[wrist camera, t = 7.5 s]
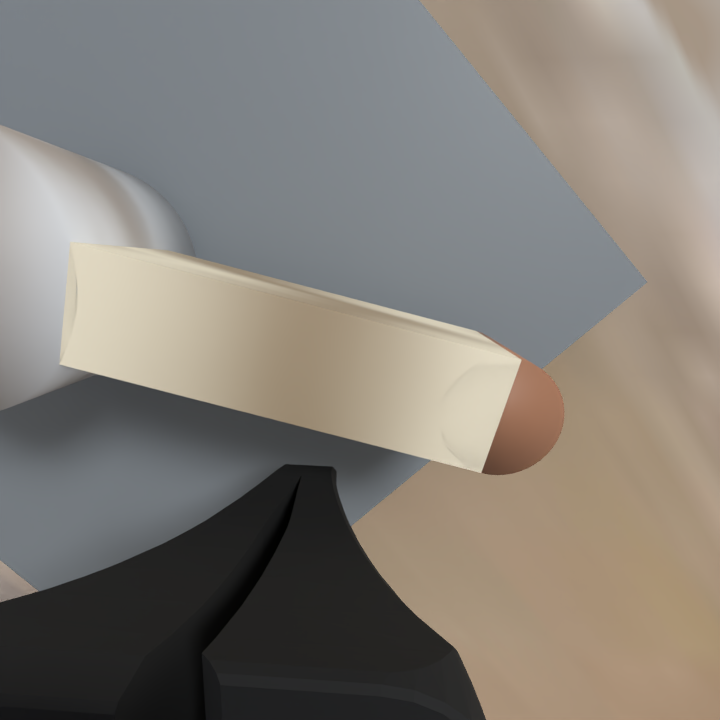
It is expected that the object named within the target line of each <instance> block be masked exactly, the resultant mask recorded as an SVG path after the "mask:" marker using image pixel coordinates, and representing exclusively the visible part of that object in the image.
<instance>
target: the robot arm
mask: <svg viewBox="0 0 720 720" xmlns="http://www.w3.org/2000/svg"><path fill="white" fill-rule="evenodd" d="M336 481H337V471H336V470H335V469H334V467H333V466H314V465H294V464H285V465H283V466H282V467H280V468H279V469H277V470H276V471H275V472H274V473H272V474H271V475H270V476H268V477H267V478H266V479H265V480H263V481H262V482H261V483H259V484H258V485H257V486H255V487H254V488H253V489H251V490H250V491H249V492H247V493H246V494H245V495H243V496H242V497H240V498H239V499H237V500H236V501H234V502H233V503H231V504H230V505H228V506H227V507H225V508H224V509H222V510H221V511H219V512H218V513H216V514H215V515H213V516H212V517H210V518H209V519H207V520H205V521H204V522H202V523H200V524H199V525H197V526H195V527H193V528H192V529H190V530H188V531H186V532H184V533H182V534H180V535H179V536H177V537H175V538H173V539H171V540H169V541H167V542H165V543H163V544H161V545H159V546H156V547H154V548H152V549H150V550H147V551H145V552H143V553H141V554H138V555H136V556H134V557H132V558H129V559H127V560H125V561H122V562H120V563H118V564H115V565H113V566H110V567H108V568H105V569H103V570H100V571H97V572H95V573H92V574H89V575H87V576H84V577H81V578H78V579H75V580H72V581H69V582H66V583H64V584H61V585H58V586H55V587H52V588H48V589H45V590H42V591H39V592H36V593H32V594H29V595H25V596H22V597H18V598H15V599H11V600H8V601H4V602H0V720H486V719H485V716H484V713H483V710H482V708H481V705H480V702H479V700H478V697H477V695H476V692H475V690H474V687H473V685H472V682H471V680H470V678H469V676H468V673H467V671H466V669H465V667H464V664H463V662H462V660H461V658H460V656H459V654H458V652H457V650H456V649H455V648H454V647H453V646H452V645H451V644H449V643H448V642H447V641H446V640H445V639H443V638H442V637H441V636H440V635H439V634H437V633H436V632H435V631H434V630H433V629H432V628H430V627H429V626H428V625H427V624H426V623H424V622H423V621H422V620H421V619H420V618H418V617H417V616H416V615H415V614H414V613H413V612H412V611H411V610H410V609H409V608H408V607H407V606H406V605H405V604H404V603H403V602H402V601H401V599H400V598H399V597H398V596H397V594H396V593H395V592H394V591H393V590H392V588H391V587H390V586H389V585H388V584H387V582H386V581H385V580H384V579H383V578H382V576H381V575H380V574H379V573H378V571H377V570H376V568H375V567H374V565H373V564H372V563H371V561H370V560H369V558H368V557H367V555H366V553H365V552H364V550H363V548H362V547H361V545H360V543H359V542H358V540H357V538H356V536H355V534H354V532H353V530H352V528H351V526H350V524H349V521H348V519H347V517H346V514H345V512H344V509H343V506H342V503H341V500H340V497H339V494H338V490H337V485H336Z"/></svg>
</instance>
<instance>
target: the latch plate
mask: <svg viewBox="0 0 720 720" xmlns="http://www.w3.org/2000/svg"><path fill="white" fill-rule="evenodd" d="M0 125H2V126H5V127H8V128H10V129H13V130H15V131H18V132H21V133H23V134H26V135H29V136H31V137H34V138H36V139H39V140H42V141H44V142H47V143H50V144H52V145H55V146H58V147H60V148H63V149H65V150H68V151H71V152H73V153H76V154H79V155H81V156H84V157H86V158H89V159H92V160H94V161H97V162H100V163H102V164H105V165H108V166H110V167H113V168H115V169H118V170H121V171H123V172H126V173H128V174H130V175H132V176H135V177H137V178H139V179H141V180H142V181H144V182H145V183H147V184H148V185H150V186H151V187H152V188H154V189H155V190H156V191H157V192H158V193H160V194H161V195H162V196H163V197H164V198H165V199H166V200H167V201H168V203H169V204H170V205H171V206H172V207H173V209H174V210H175V211H176V213H177V214H178V215H179V217H180V218H181V220H182V222H183V224H184V225H185V227H186V229H187V231H188V234H189V236H190V239H191V241H192V244H193V248H194V251H195V255H196V258H200V259H203V260H207V261H211V262H215V263H219V264H222V265H226V266H230V267H234V268H238V269H242V270H245V271H249V272H253V273H257V274H261V275H264V276H268V277H272V278H276V279H280V280H284V281H287V282H291V283H295V284H299V285H303V286H306V287H310V288H314V289H318V290H322V291H326V292H329V293H333V294H337V295H341V296H345V297H348V298H352V299H356V300H360V301H364V302H368V303H371V304H375V305H379V306H383V307H387V308H390V309H394V310H398V311H402V312H406V313H410V314H413V315H417V316H421V317H425V318H429V319H432V320H436V321H440V322H444V323H448V324H452V325H455V326H459V327H463V328H467V329H471V330H474V331H478V332H481V333H483V334H485V335H487V336H489V337H490V338H492V339H494V340H495V341H497V342H499V343H500V344H502V345H503V346H505V347H507V348H508V349H510V350H512V351H513V352H515V353H516V354H518V355H520V356H521V357H523V358H525V359H526V360H528V361H529V362H531V363H533V364H534V365H536V366H537V367H539V368H540V369H542V368H544V367H545V366H546V365H547V364H548V363H550V362H551V361H552V360H553V359H554V358H556V357H557V356H558V355H559V354H561V353H562V352H563V351H564V350H565V349H567V348H568V347H569V346H570V345H571V344H573V343H574V342H575V341H576V340H578V339H579V338H580V337H581V336H582V335H584V334H585V333H586V332H587V331H589V330H590V329H591V328H592V327H593V326H595V325H596V324H597V323H598V322H599V321H601V320H602V319H603V318H604V317H606V316H607V315H608V314H609V313H610V312H612V311H613V310H614V309H615V308H616V307H618V306H619V305H620V304H621V303H623V302H624V301H625V300H626V299H627V298H629V297H630V296H631V295H632V294H633V293H635V292H636V291H637V290H638V289H640V288H641V287H642V286H643V285H644V284H646V283H647V281H646V280H645V279H644V277H643V276H642V275H641V274H640V272H639V271H638V270H637V269H636V268H635V266H634V265H633V264H632V263H631V261H630V260H629V259H628V258H627V256H626V255H625V254H624V253H623V251H622V250H621V249H620V248H619V247H618V245H617V244H616V243H615V242H614V240H613V239H612V238H611V237H610V235H609V234H608V233H607V232H606V230H605V229H604V228H603V227H602V226H601V224H600V223H599V222H598V221H597V219H596V218H595V217H594V216H593V214H592V213H591V212H590V211H589V209H588V208H587V207H586V206H585V205H584V203H583V202H582V201H581V200H580V198H579V197H578V196H577V195H576V193H575V192H574V191H573V190H572V188H571V187H570V186H569V185H568V184H567V182H566V181H565V180H564V179H563V177H562V176H561V175H560V174H559V172H558V171H557V170H556V169H555V167H554V166H553V165H552V164H551V163H550V161H549V160H548V159H547V158H546V156H545V155H544V154H543V153H542V151H541V150H540V149H539V148H538V147H537V145H536V144H535V143H534V142H533V140H532V139H531V138H530V137H529V135H528V134H527V133H526V132H525V130H524V129H523V128H522V127H521V126H520V124H519V123H518V122H517V121H516V119H515V118H514V117H513V116H512V114H511V113H510V112H509V111H508V109H507V108H506V107H505V106H504V105H503V103H502V102H501V101H500V100H499V98H498V97H497V96H496V95H495V93H494V92H493V91H492V90H491V88H490V87H489V86H488V85H487V84H486V82H485V81H484V80H483V79H482V77H481V76H480V75H479V74H478V72H477V71H476V70H475V69H474V67H473V66H472V65H471V64H470V63H469V61H468V60H467V59H466V58H465V56H464V55H463V54H462V53H461V51H460V50H459V49H458V48H457V46H456V45H455V44H454V43H453V42H452V40H451V39H450V38H449V37H448V35H447V34H446V33H445V32H444V30H443V29H442V28H441V27H440V26H439V24H438V23H437V22H436V21H435V19H434V18H433V17H432V16H431V14H430V13H429V12H428V11H427V9H426V8H425V7H424V6H423V5H422V3H421V2H420V1H419V0H0ZM429 461H431V460H429V459H425V458H421V457H417V456H414V455H410V454H406V453H402V452H398V451H394V450H390V449H386V448H382V447H379V446H375V445H371V444H367V443H363V442H359V441H355V440H351V439H347V438H344V437H340V436H336V435H332V434H328V433H324V432H320V431H316V430H312V429H309V428H305V427H301V426H297V425H293V424H289V423H285V422H281V421H277V420H274V419H270V418H266V417H262V416H258V415H254V414H250V413H246V412H242V411H239V410H235V409H231V408H227V407H223V406H219V405H215V404H211V403H207V402H204V401H200V400H196V399H192V398H188V397H184V396H180V395H176V394H172V393H169V392H165V391H161V390H157V389H153V388H149V387H145V386H141V385H137V384H134V383H130V382H126V381H122V380H118V379H114V378H110V377H106V376H102V375H98V374H97V375H94V376H91V377H89V378H86V379H83V380H81V381H78V382H75V383H73V384H70V385H68V386H65V387H62V388H60V389H57V390H54V391H52V392H49V393H46V394H44V395H41V396H38V397H36V398H33V399H30V400H28V401H25V402H22V403H20V404H17V405H15V406H12V407H9V408H6V409H4V410H1V411H0V560H1V561H2V562H3V563H5V564H6V565H7V566H8V567H10V568H11V569H12V570H13V571H15V572H16V573H17V574H18V575H19V576H21V577H22V578H23V579H24V580H26V581H27V582H28V583H29V584H31V585H32V586H33V587H34V588H36V589H37V590H38V591H42V590H45V589H48V588H52V587H55V586H58V585H61V584H64V583H66V582H69V581H72V580H75V579H78V578H81V577H84V576H87V575H89V574H92V573H95V572H97V571H100V570H103V569H105V568H108V567H110V566H113V565H115V564H118V563H120V562H122V561H125V560H127V559H129V558H132V557H134V556H136V555H138V554H141V553H143V552H145V551H147V550H150V549H152V548H154V547H156V546H159V545H161V544H163V543H165V542H167V541H169V540H171V539H173V538H175V537H177V536H179V535H180V534H182V533H184V532H186V531H188V530H190V529H192V528H193V527H195V526H197V525H199V524H200V523H202V522H204V521H205V520H207V519H209V518H210V517H212V516H213V515H215V514H216V513H218V512H219V511H221V510H222V509H224V508H225V507H227V506H228V505H230V504H231V503H233V502H234V501H236V500H237V499H239V498H240V497H242V496H243V495H245V494H246V493H247V492H249V491H250V490H251V489H253V488H254V487H255V486H257V485H258V484H259V483H261V482H262V481H263V480H265V479H266V478H267V477H268V476H270V475H271V474H272V473H274V472H275V471H276V470H277V469H279V468H280V467H282V466H283V465H285V464H294V465H314V466H333V467H334V469H335V470H336V471H337V481H336V485H337V490H338V494H339V497H340V500H341V503H342V506H343V509H344V512H345V514H346V517H347V519H348V521H349V524H350V526H352V525H353V524H354V523H355V522H356V521H358V520H359V519H360V518H361V517H362V516H364V515H365V514H366V513H367V512H369V511H370V510H371V509H372V508H373V507H375V506H376V505H377V504H378V503H379V502H381V501H382V500H383V499H384V498H386V497H387V496H388V495H389V494H390V493H392V492H393V491H394V490H395V489H396V488H398V487H399V486H400V485H401V484H403V483H404V482H405V481H406V480H407V479H409V478H410V477H411V476H412V475H414V474H415V473H416V472H417V471H418V470H420V469H421V468H422V467H423V466H424V465H426V464H427V463H428V462H429Z"/></svg>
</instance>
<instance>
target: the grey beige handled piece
mask: <svg viewBox="0 0 720 720" xmlns="http://www.w3.org/2000/svg"><path fill="white" fill-rule="evenodd" d="M97 374H98V375H102V376H106V377H110V378H114V379H118V380H122V381H126V382H130V383H134V384H137V385H141V386H145V387H149V388H153V389H157V390H161V391H165V392H169V393H172V394H176V395H180V396H184V397H188V398H192V399H196V400H200V401H204V402H207V403H211V404H215V405H219V406H223V407H227V408H231V409H235V410H239V411H242V412H246V413H250V414H254V415H258V416H262V417H266V418H270V419H274V420H277V421H281V422H285V423H289V424H293V425H297V426H301V427H305V428H309V429H312V430H316V431H320V432H324V433H328V434H332V435H336V436H340V437H344V438H347V439H351V440H355V441H359V442H363V443H367V444H371V445H375V446H379V447H382V448H386V449H390V450H394V451H398V452H402V453H406V454H410V455H414V456H417V457H421V458H425V459H429V460H433V461H437V462H441V463H445V464H449V465H452V466H456V467H460V468H464V469H468V470H472V471H476V472H480V473H484V474H491V475H505V474H511V473H515V472H519V471H522V470H524V469H527V468H529V467H530V466H532V465H534V464H536V463H537V462H538V461H540V460H541V459H542V458H543V457H544V456H546V455H547V454H548V452H549V451H550V450H551V449H552V448H553V446H554V445H555V443H556V442H557V440H558V438H559V435H560V433H561V430H562V427H563V422H564V404H563V400H562V396H561V393H560V391H559V389H558V387H557V385H556V384H555V382H554V381H553V380H552V378H551V377H550V376H549V375H548V374H547V373H546V372H545V371H543V370H542V369H540V368H539V367H537V366H536V365H534V364H533V363H531V362H529V361H528V360H526V359H525V358H523V357H521V356H520V355H518V354H516V353H515V352H513V351H512V350H510V349H508V348H507V347H505V346H503V345H502V344H500V343H499V342H497V341H495V340H494V339H492V338H490V337H489V336H487V335H485V334H483V333H481V332H478V331H474V330H471V329H467V328H463V327H459V326H455V325H452V324H448V323H444V322H440V321H436V320H432V319H429V318H425V317H421V316H417V315H413V314H410V313H406V312H402V311H398V310H394V309H390V308H387V307H383V306H379V305H375V304H371V303H368V302H364V301H360V300H356V299H352V298H348V297H345V296H341V295H337V294H333V293H329V292H326V291H322V290H318V289H314V288H310V287H306V286H303V285H299V284H295V283H291V282H287V281H284V280H280V279H276V278H272V277H268V276H264V275H261V274H257V273H253V272H249V271H245V270H242V269H238V268H234V267H230V266H226V265H222V264H219V263H215V262H211V261H207V260H203V259H200V258H196V255H195V251H194V248H193V244H192V241H191V239H190V236H189V234H188V231H187V229H186V227H185V225H184V224H183V222H182V220H181V218H180V217H179V215H178V214H177V213H176V211H175V210H174V209H173V207H172V206H171V205H170V204H169V203H168V201H167V200H166V199H165V198H164V197H163V196H162V195H161V194H160V193H158V192H157V191H156V190H155V189H154V188H152V187H151V186H150V185H148V184H147V183H145V182H144V181H142V180H141V179H139V178H137V177H135V176H132V175H130V174H128V173H126V172H123V171H121V170H118V169H115V168H113V167H110V166H108V165H105V164H102V163H100V162H97V161H94V160H92V159H89V158H86V157H84V156H81V155H79V154H76V153H73V152H71V151H68V150H65V149H63V148H60V147H58V146H55V145H52V144H50V143H47V142H44V141H42V140H39V139H36V138H34V137H31V136H29V135H26V134H23V133H21V132H18V131H15V130H13V129H10V128H8V127H5V126H2V125H0V411H1V410H4V409H6V408H9V407H12V406H15V405H17V404H20V403H22V402H25V401H28V400H30V399H33V398H36V397H38V396H41V395H44V394H46V393H49V392H52V391H54V390H57V389H60V388H62V387H65V386H68V385H70V384H73V383H75V382H78V381H81V380H83V379H86V378H89V377H91V376H94V375H97Z"/></svg>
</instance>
